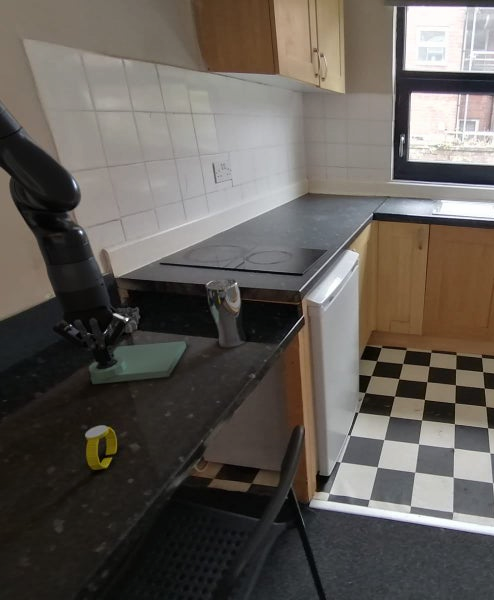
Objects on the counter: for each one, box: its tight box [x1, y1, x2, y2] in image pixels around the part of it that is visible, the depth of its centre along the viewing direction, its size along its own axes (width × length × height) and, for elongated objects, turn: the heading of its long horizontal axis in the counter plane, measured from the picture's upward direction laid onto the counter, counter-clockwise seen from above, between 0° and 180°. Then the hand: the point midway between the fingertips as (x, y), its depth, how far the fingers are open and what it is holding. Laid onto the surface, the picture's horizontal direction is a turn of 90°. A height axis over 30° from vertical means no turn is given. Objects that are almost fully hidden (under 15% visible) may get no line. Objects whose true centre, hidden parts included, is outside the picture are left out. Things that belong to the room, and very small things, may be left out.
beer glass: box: [205, 277, 247, 348], centre depth 92 cm, size 7×7×15 cm
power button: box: [97, 359, 116, 369], centre depth 81 cm, size 3×3×2 cm
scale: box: [88, 341, 187, 385], centre depth 85 cm, size 14×13×4 cm
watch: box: [84, 424, 118, 471], centre depth 61 cm, size 6×3×6 cm, turn 13°
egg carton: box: [109, 306, 141, 336], centre depth 102 cm, size 11×8×4 cm
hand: (106, 362), depth 80 cm, fingers closed
